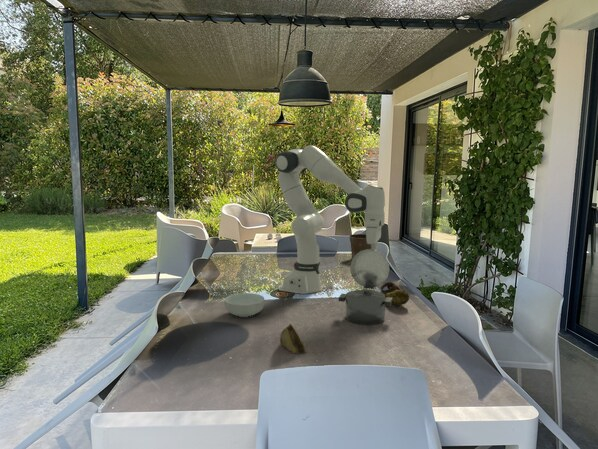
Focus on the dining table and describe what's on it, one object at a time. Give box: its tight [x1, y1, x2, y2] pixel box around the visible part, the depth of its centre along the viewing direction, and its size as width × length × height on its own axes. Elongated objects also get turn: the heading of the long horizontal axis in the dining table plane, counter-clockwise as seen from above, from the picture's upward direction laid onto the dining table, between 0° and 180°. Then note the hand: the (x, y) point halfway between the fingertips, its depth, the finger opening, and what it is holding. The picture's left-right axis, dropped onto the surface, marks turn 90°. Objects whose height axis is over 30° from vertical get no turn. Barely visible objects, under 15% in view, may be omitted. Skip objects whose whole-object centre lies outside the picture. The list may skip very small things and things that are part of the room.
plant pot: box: [349, 233, 372, 260], centre depth 299 cm, size 16×16×16 cm
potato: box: [385, 289, 410, 306], centre depth 201 cm, size 8×13×8 cm, turn 10°
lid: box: [349, 248, 390, 290], centre depth 193 cm, size 17×17×3 cm
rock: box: [279, 323, 307, 354], centre depth 155 cm, size 11×9×10 cm
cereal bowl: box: [224, 292, 265, 318], centre depth 191 cm, size 17×17×7 cm
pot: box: [338, 288, 392, 326], centre depth 185 cm, size 21×17×10 cm
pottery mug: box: [380, 281, 401, 295], centre depth 216 cm, size 12×10×8 cm
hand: (374, 250), depth 204 cm, fingers closed
